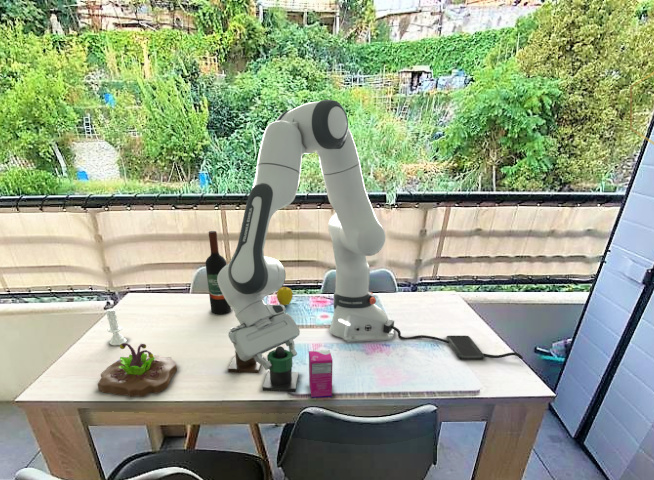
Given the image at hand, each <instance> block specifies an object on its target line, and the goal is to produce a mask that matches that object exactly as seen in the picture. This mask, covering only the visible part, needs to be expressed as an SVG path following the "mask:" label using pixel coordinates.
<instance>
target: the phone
mask: <svg viewBox="0 0 654 480" xmlns="http://www.w3.org/2000/svg"><path fill="white" fill-rule="evenodd" d="M445 340H448V341H449V344H448V345H449V347H450V348H451V350H452V351H453V353H454V354H455V356H456V357H457V358H458V359H459V360H483V359H484V358H485V357H484V354H485V353H484V352H482V350H481V349H480V348H479V347H478V346H477V344H476V343H475V342H474V341H473V339H472V338H471V337H470V336H469V335H446V337H445ZM450 341H451V342H450ZM452 342H453V343H452ZM455 343H456V344H455ZM457 344H458V345H457ZM459 345H460V346H459ZM462 346H463V347H462ZM464 347H465V348H464ZM467 348H468V349H467ZM470 349H471V350H470ZM473 350H474V351H473ZM476 351H477V352H476ZM483 353H484V354H483Z"/></svg>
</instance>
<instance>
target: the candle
mask: <svg viewBox="0 0 654 480" xmlns="http://www.w3.org/2000/svg"><path fill="white" fill-rule="evenodd" d="M105 312H106V316H107V317H106V318H107V321H108V325H109V327H108V328H107V332H109V333H112V337H111V338H110V341H109V345H111V346H120V344H122V343H127V342H128V340H127V338H125V337H124V336H123V335H122V334H121V333H120V331H122V330H123V328H124V327H123V326H121V325H119V322H118V318H117V317H118V316H117V314H116V310H115V309H114V308H107V309H106V310H105Z"/></svg>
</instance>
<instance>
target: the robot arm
mask: <svg viewBox="0 0 654 480" xmlns="http://www.w3.org/2000/svg"><path fill="white" fill-rule="evenodd" d="M314 153H316V154H317V157H318V159H319V165H320V170H321V174H322V178H323V183H324V185H325V186H324V187H325V191H326V195H327V199H328V202H329V203H330V205H331V207H332V208H333V211H334V214H333V215H332V216H331V218H330V219H329V220H328V226H327V231H328V234H329V236H330V239H331V244H332V250H333V251H332V252H333V256H334V263H335V290H334V291H333V300H332V301H333V303H332V305H333V313H332V314H333V315H332V319H331V323H330V326H329V328H328V330H329V333H331V334H332V335H333V336H334V337H338V338H340V339H342V340H344V342H345V341H346V342H348V343H356V342H357V343H359V342H374V341H375V342H377V341H378V342H379V341H390V340H392V339H393V338H394V335H395V332H397V337H398V338H399V339H400V340H415V339H427V340H428V339H429V340H434V341H439V342H443V343H446V344H448V345H449V341H448V340H446V338H441V337H437V336H432V335H427V334H426V335H424V334H419V335H413V336H407V337H404V336H402V334H401V331H400V329H399V328H398V327H396V326H395V320H393V319H388V315H387V313H386V312H385V311H384V310H383V309H382V308H381V307H380V306H378V305H377V299H376V297H375V294H373V292H372V291H369V290H370V289H369V288H370V275H371V268H370V265H369V263H368V261H367V257H372V256H375V255H376V254H378V253H379V252H381V250H382V249H383V248H384V245H385V244H386V243H385V242H386V232H385V229H384V228H383V226H382V224H381V223H380V222H379V220H378V218H377V216H376V214H375V210H374V209H373V205H372V203H371V201H370V199H369V195H368V193H367V190H366V185H365V182H364V177H363V173H362V172H363V171H362V167H361V162H360V158H359V157H360V156H359V153H358V150H357V146H356V143H355V140H354V137H353V135H352V132H351V130H350V128H349V120H348V114H347V112H346V110H345V109H344V107H343V106H342V104H341V103H340V102H339V101H337V100H335V99H334V100H333V99H322V100H319V101H312V102H307V103H304V104H301V105H299V106H297V107H295V108H293V109H288V110H286V111H284V112H282V113H281V114H280V115H279V116H278V117H277V118H276V120H275V121H273V122H271V123H269V124H268V125H267V126H266V128H265V130H264V133H263V136H262V139H261V142H260V147H259V151H258V157H257V163H256V171H255V177H254V181H253V185H252V187H251V189H250V192H249V194H248V197H247V201H246V204H245V209H244V213H243V219H242V223H241V226H240V232H239V237H238V241H237V245H236V249H235V251H234V252H233V255H232V257H231V258H230V261H229V263H228V264H227V263H226V264H227V265H226V266H224V267H223V268H222V269H221V271H220V272H219V274H218V277H217V280H218V285H219V287H220V290H221V292H222V294H223V296H224V298H225V299H226V301H227V303H228V304H229V306H231V310H233V312H234V316H235V318H236V319H237V321H238V323H239V324H238V325H237V326H234V327H231V328H230V329H229V331H228V333H227V334H228V338H229V340H230V341H231V343H232V344H233V345H232V346H233V347H234V351H235V350H236V352H237V354H238V356H239V358H240V359H241V360H243V361H247V360H249V359H252V358H254V359H255V361H256V362H258V363H259V364H261V365H262V367H263V369H264V370H265V371H269V369H270V368H271V367H272V364H271V362H270V361H268V360H266V359H265V358H264V359H263V358H262V356H264V355H263V354H264V353H267V352H270V351H272V350H275V349H276V348H277V347H279V346H282V345H285V346H286V347H288V351H289V352H291V354H292V358H295V357H296V356H297V355H298V352H297V351H296V348H295V341H294V340H295V339H296V338H298V337H299V336H300V332H301V331H300V328H299V326H298V325H297V323H296V322H295V321H296V320H294V318H293V317H292V316H291V315H290V314H289V313H287V312H286V311H287V309H286V307H285V305H281V304H271V303H266V301H265V300H264V298H265V297H267V296H268V297H269V296H271V294H274V293H276V292H278V290H279V289H280V288H281V287H284V285H285V283H286V279H287V278H286V277H287V275H286V269H285V267H284V264H282V262H281V261H279V260H278V259H276V258H273V257H270V256H267V255H265V254H264V253H265V251H264V250H265V244H266V240H267V234H268V231H269V226H270V221H271V220H272V217H273V216H274V215H275V213H276V212H278V211H279V210H281V209H285V208H286V207H288V206H290V205H291V204H292V203H293V202H294V200H295V199H296V196H297V193H298V189H299V185H300V180H301V179H300V177H301V172H302V171H301V170H302V159H303V156H304V155H307V154H308V155H310V154H314ZM450 342H451V341H450ZM452 343H453V342H452ZM455 344H456V343H455ZM457 345H458V344H457ZM459 346H460V345H459ZM462 347H463V346H462ZM464 348H465V347H464ZM467 349H468V348H467ZM470 350H471V349H470ZM473 351H474V350H473ZM476 352H477V351H476ZM482 353H483V354H484V357H483V358H490V359H501V358H506V357H510V356H511V357H512V356H515V357H517V358H518V359H520V360H523V359H524V357H523V356H522V355H521V353H518V352H516V351H515V352H513V351H512V352H506V353H502V354H489V353H484V352H482Z"/></svg>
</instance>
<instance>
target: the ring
mask: <svg viewBox="0 0 654 480" xmlns="http://www.w3.org/2000/svg"><path fill="white" fill-rule="evenodd" d="M284 350H285V358H283V359H276V349H272V350H270V351H268V354H267V355H266V357H267V361H270V362H271V364H272V367H271V368H270V369H268V371H270V370H271V371H273V372H279V373H281V372H287V371H289V370H290V369H291V368H293V357H292V354H291V352H289V350H287V349H284Z"/></svg>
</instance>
